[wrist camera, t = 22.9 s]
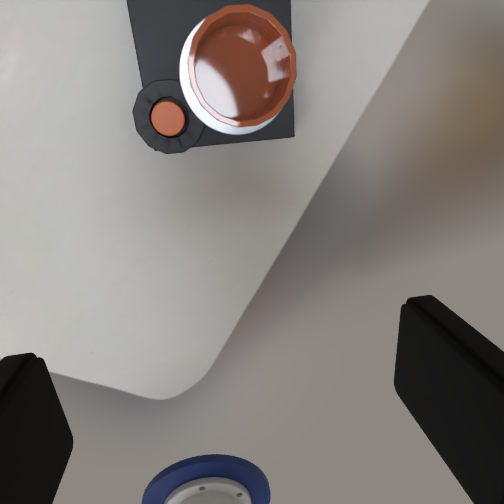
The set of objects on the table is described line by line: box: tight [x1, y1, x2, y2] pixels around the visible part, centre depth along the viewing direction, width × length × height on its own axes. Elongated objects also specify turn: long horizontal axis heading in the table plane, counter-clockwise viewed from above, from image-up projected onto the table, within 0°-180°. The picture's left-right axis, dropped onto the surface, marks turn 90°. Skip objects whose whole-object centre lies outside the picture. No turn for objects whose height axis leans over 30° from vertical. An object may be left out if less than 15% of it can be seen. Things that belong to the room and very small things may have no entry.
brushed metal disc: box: [179, 12, 280, 135], centre depth 26 cm, size 8×8×1 cm
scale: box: [127, 0, 295, 154], centre depth 27 cm, size 14×13×4 cm
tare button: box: [151, 101, 185, 136], centre depth 27 cm, size 2×2×2 cm
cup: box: [187, 4, 296, 128], centre depth 24 cm, size 7×7×4 cm
